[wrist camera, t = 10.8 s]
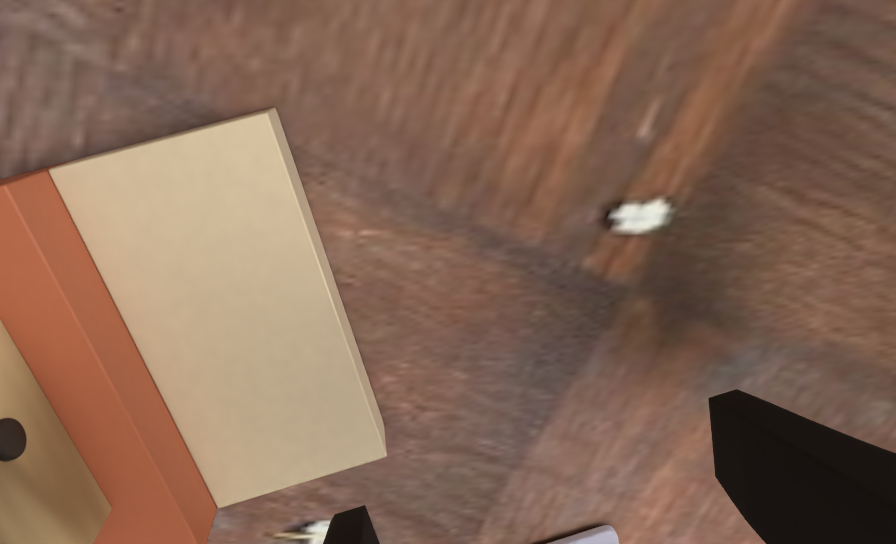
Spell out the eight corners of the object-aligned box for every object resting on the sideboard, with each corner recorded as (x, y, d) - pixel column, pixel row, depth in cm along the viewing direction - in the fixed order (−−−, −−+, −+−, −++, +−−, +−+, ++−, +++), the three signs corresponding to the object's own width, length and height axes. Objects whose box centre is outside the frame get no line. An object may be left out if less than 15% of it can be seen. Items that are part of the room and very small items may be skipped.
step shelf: (384, 424, 22) (395, 546, 16) (-99, 570, 21) (-264, 755, 15) (275, 106, 18) (240, 125, 12) (-342, 269, 16) (-695, 374, 11)
